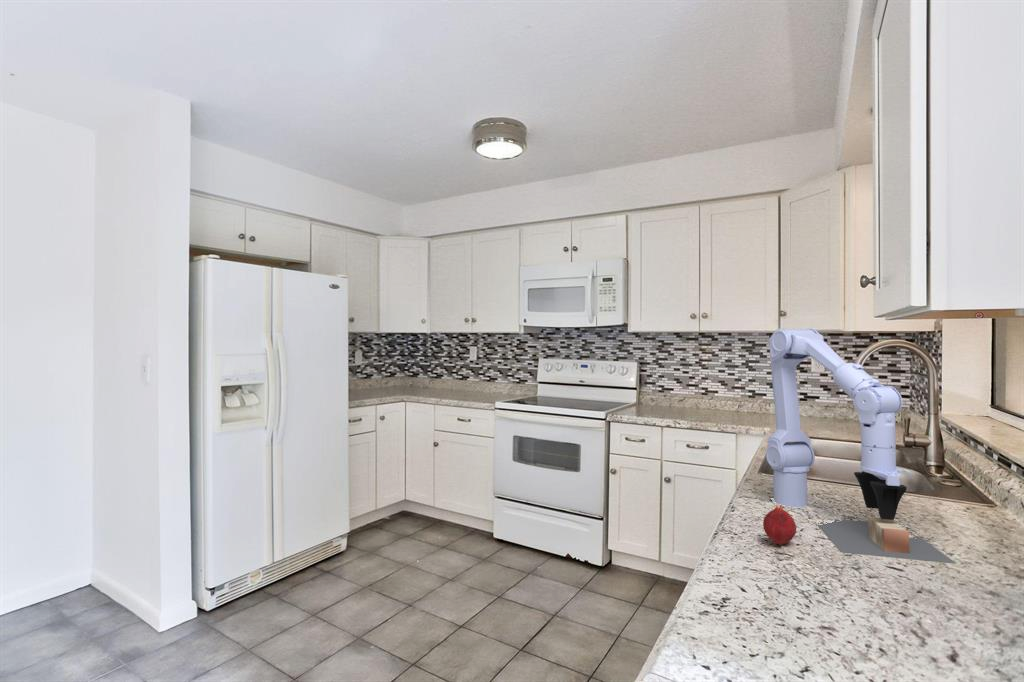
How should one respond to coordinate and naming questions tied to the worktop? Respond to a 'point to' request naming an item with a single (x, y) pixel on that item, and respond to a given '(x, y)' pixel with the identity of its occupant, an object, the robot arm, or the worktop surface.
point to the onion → (779, 525)
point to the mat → (857, 541)
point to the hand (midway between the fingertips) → (879, 513)
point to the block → (888, 535)
